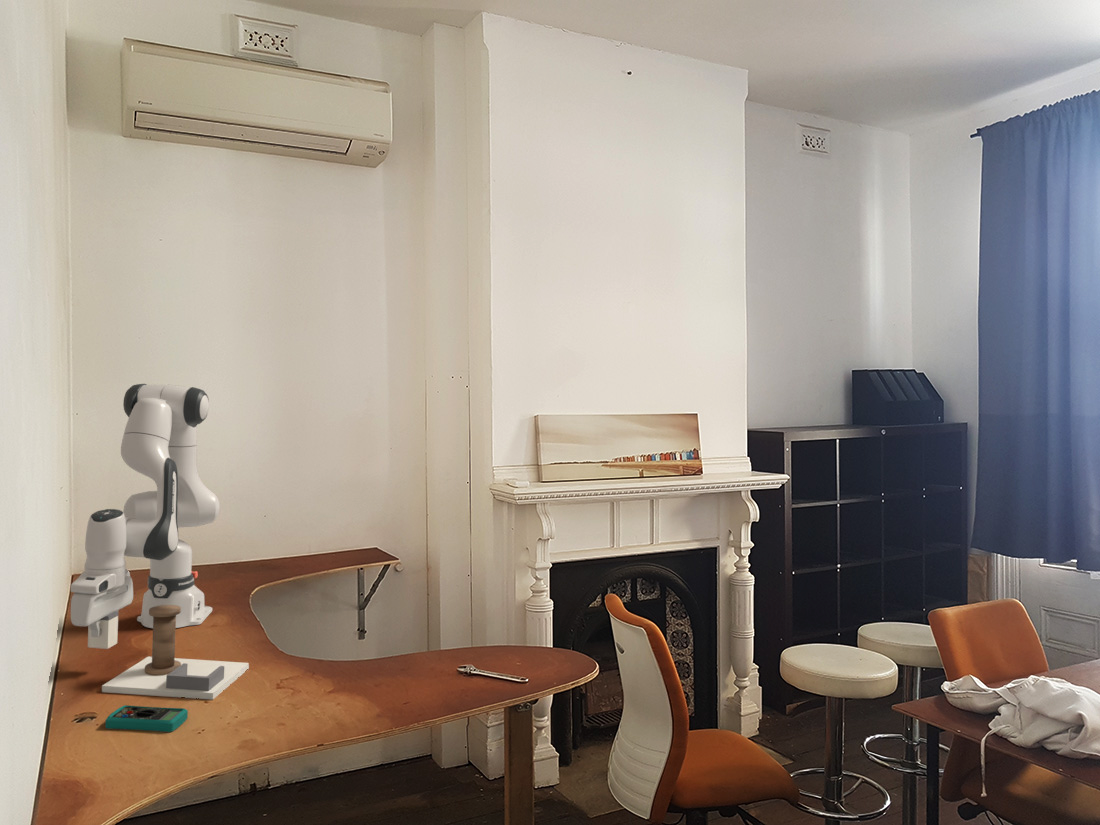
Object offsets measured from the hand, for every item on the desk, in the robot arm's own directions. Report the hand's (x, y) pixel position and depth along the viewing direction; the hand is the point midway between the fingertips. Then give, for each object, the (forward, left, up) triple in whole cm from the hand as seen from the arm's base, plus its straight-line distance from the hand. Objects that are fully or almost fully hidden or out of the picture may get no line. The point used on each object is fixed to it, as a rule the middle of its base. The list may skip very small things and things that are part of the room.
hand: (103, 632), depth 200 cm
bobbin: (0, +15, -8) cm, 17 cm away
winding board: (+2, +20, -10) cm, 23 cm away
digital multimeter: (+27, +26, -10) cm, 38 cm away
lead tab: (0, 0, -3) cm, 3 cm away
